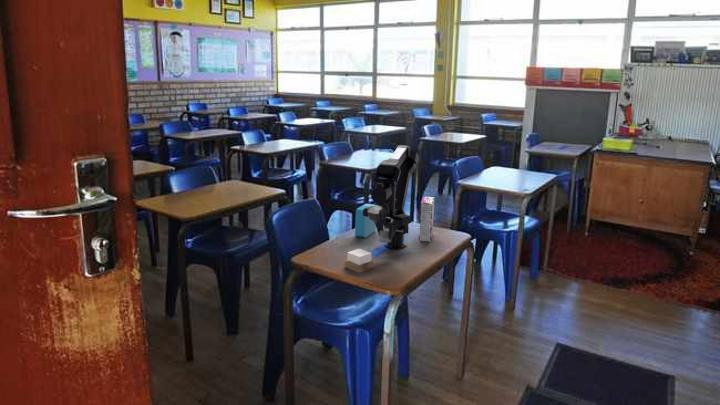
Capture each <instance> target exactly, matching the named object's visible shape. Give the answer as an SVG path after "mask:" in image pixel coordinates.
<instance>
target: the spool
mask: <svg viewBox="0 0 720 405" xmlns="http://www.w3.org/2000/svg"><path fill="white" fill-rule="evenodd" d="M378 237H379V238H378V239H379V240H378V241H379V242H380V243H385V244H387V243H389V242H391V240H389V229H384V228H383V229H380V236H379V235H378Z"/></svg>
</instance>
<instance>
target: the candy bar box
mask: <svg viewBox="0 0 720 405" xmlns="http://www.w3.org/2000/svg"><path fill="white" fill-rule="evenodd" d="M434 212H435V197H434V196H423V197H422V200H421V203H420V218H419V219H420V220H419V221H420V222H419V223H420V224H419V225H420V226H419V240H418V241H419V242H424V241H426V242H427V243H430V242H432V238H433V231H434Z"/></svg>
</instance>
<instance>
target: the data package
mask: <svg viewBox="0 0 720 405" xmlns="http://www.w3.org/2000/svg"><path fill="white" fill-rule="evenodd" d="M375 205H376V204H372V203H365V204H363V205H361V206H359V207H358V208H356V210H355V224H354V225H355V226H354V227H355V228H354V235H355V236H356V237H357V238H359V237H360V238H364V239H365V238H368V237H369V236H371V235H372V234H373V233H375V231H376V230H377V228H376V225H375V223H374V222H373V221H372V220H370V219H369V217H366V216H363V210H364V208H367V207H370V206H375Z"/></svg>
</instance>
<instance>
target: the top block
mask: <svg viewBox="0 0 720 405" xmlns="http://www.w3.org/2000/svg"><path fill="white" fill-rule="evenodd" d="M372 256H373V254H372V252H370V251H367V250H364V249H362V248H357V249H353V250H351V251H348V252H347V259H346V260H348V261H350V262H353V263H355V264H358V265H361V264H364V263H367V262H370V261H371V260H372Z"/></svg>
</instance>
